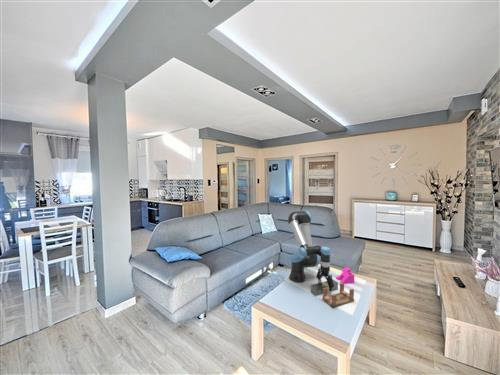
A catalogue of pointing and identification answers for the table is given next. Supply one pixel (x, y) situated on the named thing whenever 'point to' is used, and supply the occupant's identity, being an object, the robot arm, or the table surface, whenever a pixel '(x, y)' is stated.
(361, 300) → the table surface
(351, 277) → the bracket
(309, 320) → the table surface
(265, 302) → the table surface
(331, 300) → the stove stand
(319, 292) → the grey metal bar
